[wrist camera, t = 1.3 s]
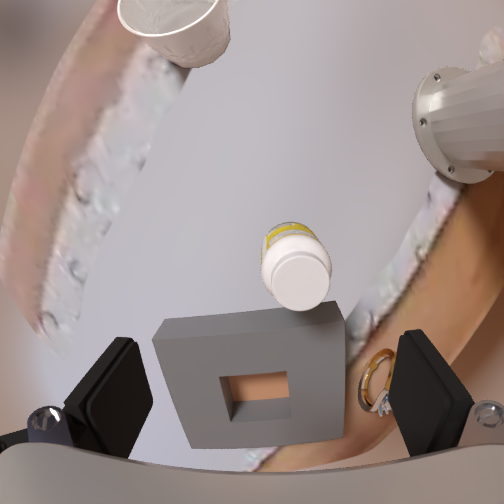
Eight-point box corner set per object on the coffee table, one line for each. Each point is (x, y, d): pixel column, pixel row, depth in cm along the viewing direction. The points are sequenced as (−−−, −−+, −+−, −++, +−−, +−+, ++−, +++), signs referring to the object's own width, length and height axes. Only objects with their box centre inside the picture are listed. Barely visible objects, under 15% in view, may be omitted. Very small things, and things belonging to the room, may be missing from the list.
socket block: (335, 300, 32) (344, 320, 27) (337, 413, 36) (343, 437, 31) (164, 318, 33) (151, 339, 29) (197, 424, 37) (191, 448, 33)
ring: (364, 387, 35) (381, 432, 27) (343, 379, 34) (357, 425, 27) (398, 342, 33) (424, 383, 25) (378, 333, 33) (402, 374, 25)
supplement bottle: (302, 284, 32) (315, 332, 22) (252, 261, 31) (246, 302, 22) (328, 235, 30) (354, 266, 21) (277, 210, 30) (281, 231, 20)
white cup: (176, 2, 25) (145, -48, 15) (248, 16, 25) (240, -38, 15) (146, 65, 27) (100, 31, 17) (219, 83, 27) (196, 46, 17)
